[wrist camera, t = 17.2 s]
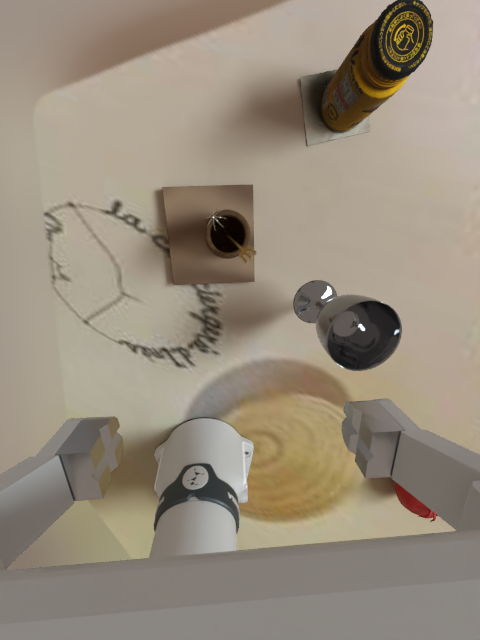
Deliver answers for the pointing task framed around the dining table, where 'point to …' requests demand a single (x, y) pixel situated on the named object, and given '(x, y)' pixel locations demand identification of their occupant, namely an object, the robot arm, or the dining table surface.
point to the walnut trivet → (188, 233)
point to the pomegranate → (413, 503)
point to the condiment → (367, 73)
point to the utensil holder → (228, 235)
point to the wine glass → (349, 325)
